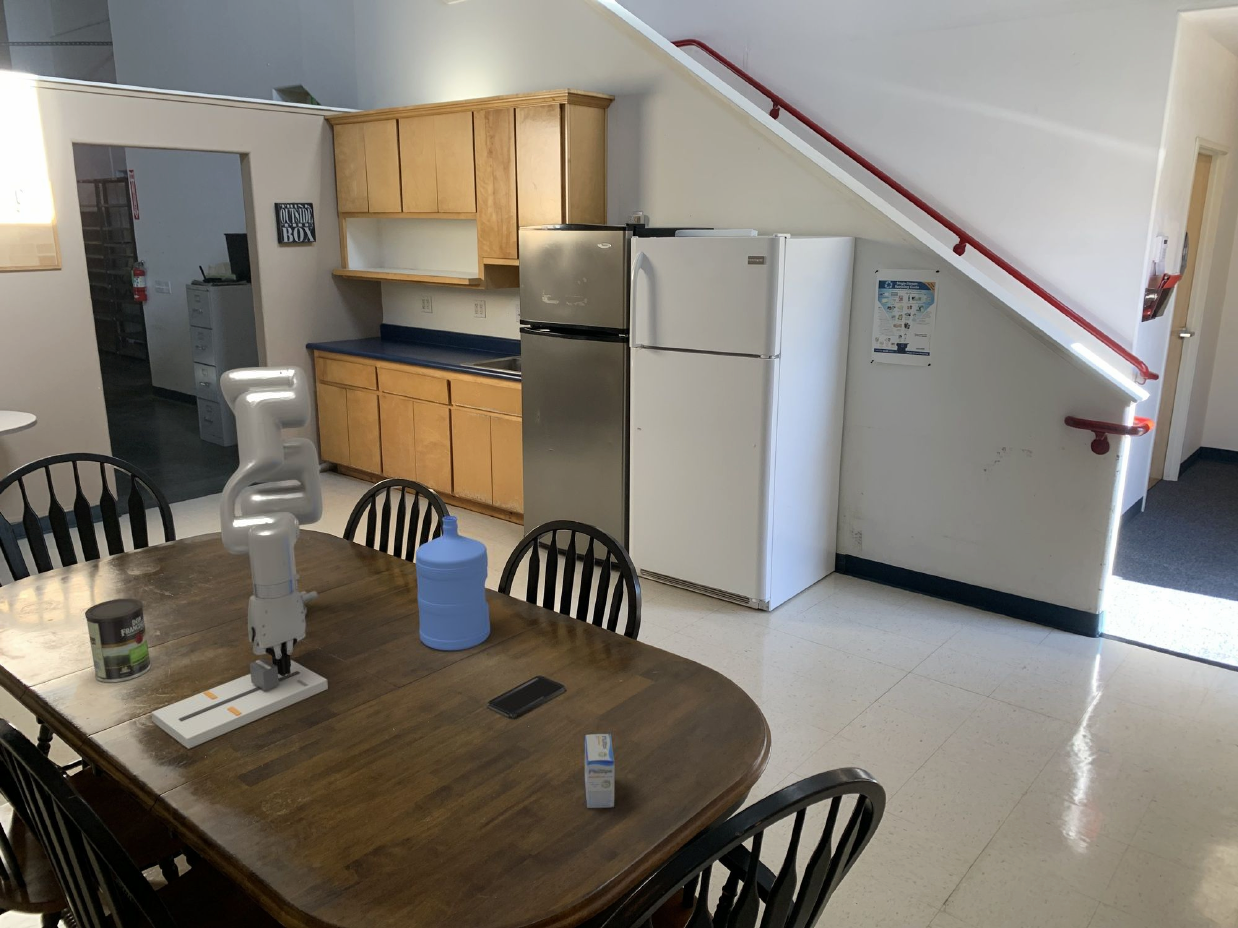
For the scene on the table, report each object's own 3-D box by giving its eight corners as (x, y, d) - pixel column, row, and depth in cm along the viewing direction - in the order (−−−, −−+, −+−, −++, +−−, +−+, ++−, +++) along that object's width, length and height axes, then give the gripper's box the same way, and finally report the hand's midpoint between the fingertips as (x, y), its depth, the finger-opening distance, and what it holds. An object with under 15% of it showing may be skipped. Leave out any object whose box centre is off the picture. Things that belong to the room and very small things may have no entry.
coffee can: (162, 661, 191) (153, 600, 188) (127, 685, 182) (117, 620, 178) (119, 657, 193) (110, 595, 190) (83, 680, 184) (72, 616, 180)
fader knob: (265, 676, 180) (263, 657, 179) (279, 684, 177) (277, 665, 176) (251, 682, 178) (249, 662, 177) (264, 690, 175) (262, 670, 173)
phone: (484, 703, 174) (539, 674, 185) (484, 708, 174) (539, 679, 185) (513, 717, 169) (567, 686, 180) (513, 722, 169) (567, 691, 180)
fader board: (289, 667, 189) (288, 657, 188) (327, 688, 180) (327, 678, 180) (152, 721, 168) (151, 711, 168) (188, 748, 160) (186, 737, 159)
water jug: (458, 658, 193) (452, 534, 186) (405, 641, 201) (397, 521, 194) (504, 631, 206) (500, 514, 199) (452, 616, 214) (447, 503, 207)
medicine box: (584, 779, 151) (584, 733, 149) (611, 778, 151) (611, 732, 149) (586, 809, 143) (586, 761, 141) (614, 807, 144) (614, 759, 142)
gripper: (297, 571, 183) (305, 654, 188) (227, 593, 172) (237, 681, 177) (319, 580, 178) (326, 664, 183) (247, 603, 167) (257, 693, 172)
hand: (282, 672), depth 180 cm, fingers closed
